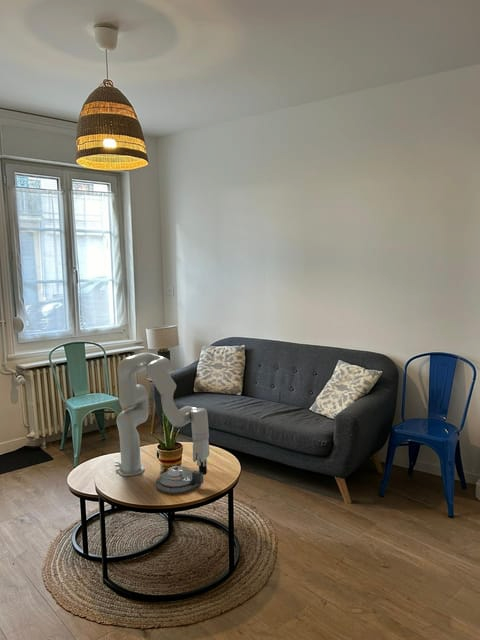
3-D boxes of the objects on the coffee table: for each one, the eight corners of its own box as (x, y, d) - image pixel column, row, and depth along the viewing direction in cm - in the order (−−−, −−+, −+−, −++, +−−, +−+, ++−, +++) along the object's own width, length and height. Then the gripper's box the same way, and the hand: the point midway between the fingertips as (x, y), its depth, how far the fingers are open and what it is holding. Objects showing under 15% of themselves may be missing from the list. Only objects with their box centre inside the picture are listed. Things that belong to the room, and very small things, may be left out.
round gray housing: (152, 478, 224) (152, 468, 223) (184, 468, 234) (183, 458, 234) (174, 494, 208) (173, 483, 207) (206, 482, 218) (206, 472, 217)
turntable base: (148, 491, 216) (148, 486, 216) (167, 473, 235) (167, 468, 235) (189, 496, 210) (188, 491, 210) (205, 477, 229) (205, 472, 229)
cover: (164, 476, 222) (164, 468, 222) (179, 472, 227) (179, 463, 226) (172, 482, 216) (171, 473, 216) (187, 477, 220) (186, 469, 220)
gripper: (198, 429, 227) (201, 467, 228) (186, 440, 212) (189, 480, 214) (213, 430, 225) (216, 467, 226) (202, 441, 210) (205, 481, 212)
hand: (203, 473), depth 220 cm, fingers closed
